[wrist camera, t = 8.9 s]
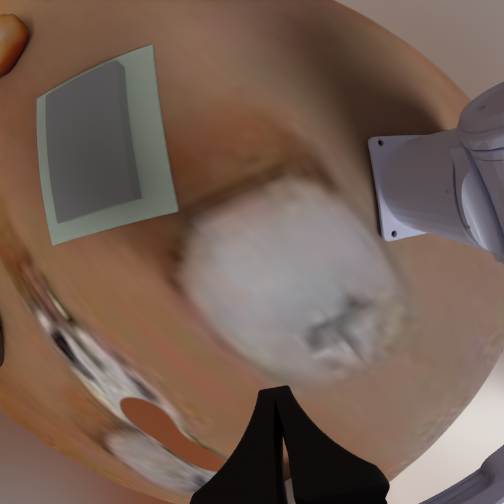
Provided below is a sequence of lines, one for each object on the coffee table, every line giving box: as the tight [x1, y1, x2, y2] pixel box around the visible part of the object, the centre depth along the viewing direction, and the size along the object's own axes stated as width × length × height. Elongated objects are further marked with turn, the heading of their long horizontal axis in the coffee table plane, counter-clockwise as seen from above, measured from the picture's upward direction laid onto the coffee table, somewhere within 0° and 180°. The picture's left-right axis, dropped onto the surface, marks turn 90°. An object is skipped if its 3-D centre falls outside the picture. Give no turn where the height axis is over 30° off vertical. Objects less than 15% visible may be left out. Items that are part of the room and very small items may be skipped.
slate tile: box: [45, 60, 142, 224], centre depth 17 cm, size 2×11×7 cm
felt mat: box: [37, 45, 179, 246], centre depth 18 cm, size 12×14×1 cm
